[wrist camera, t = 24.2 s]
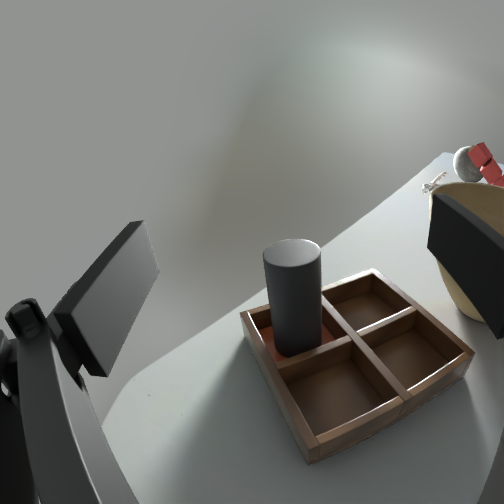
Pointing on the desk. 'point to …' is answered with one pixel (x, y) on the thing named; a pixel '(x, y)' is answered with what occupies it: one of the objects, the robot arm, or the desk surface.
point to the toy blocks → (486, 164)
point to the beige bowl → (485, 207)
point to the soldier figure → (431, 184)
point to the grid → (357, 364)
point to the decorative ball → (466, 166)
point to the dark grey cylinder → (294, 295)
